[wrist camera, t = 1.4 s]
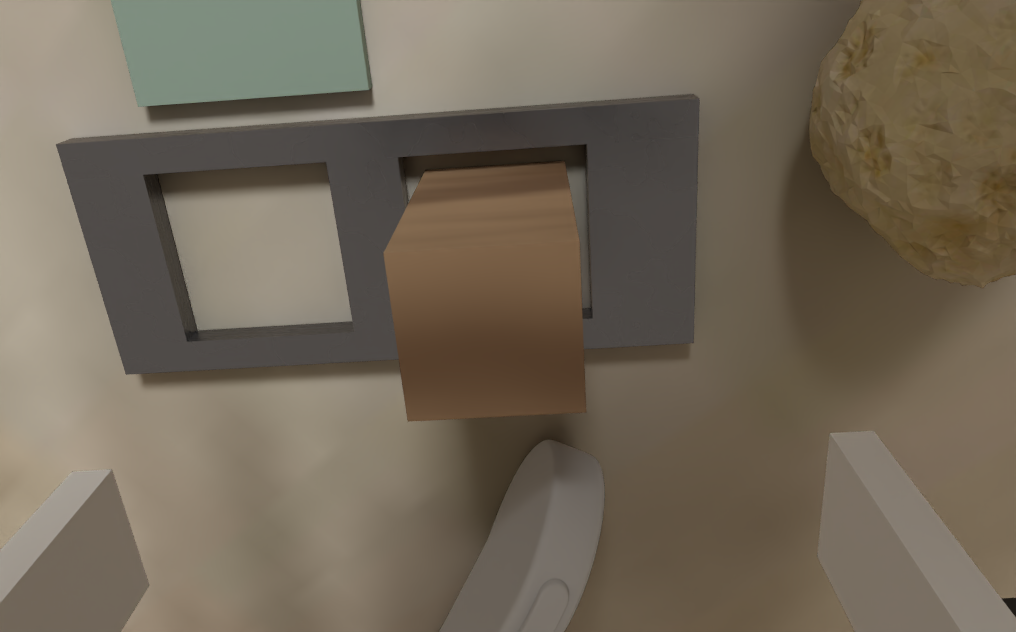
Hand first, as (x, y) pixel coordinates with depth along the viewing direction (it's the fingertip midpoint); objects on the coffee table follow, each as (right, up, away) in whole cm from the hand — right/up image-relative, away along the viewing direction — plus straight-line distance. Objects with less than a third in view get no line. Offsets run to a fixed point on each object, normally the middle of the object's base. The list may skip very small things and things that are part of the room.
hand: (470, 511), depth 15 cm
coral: (+14, +12, +12) cm, 22 cm away
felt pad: (-8, +15, +11) cm, 20 cm away
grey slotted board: (-4, +6, +15) cm, 16 cm away
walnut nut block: (0, +7, +15) cm, 16 cm away
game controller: (0, -8, +22) cm, 23 cm away
